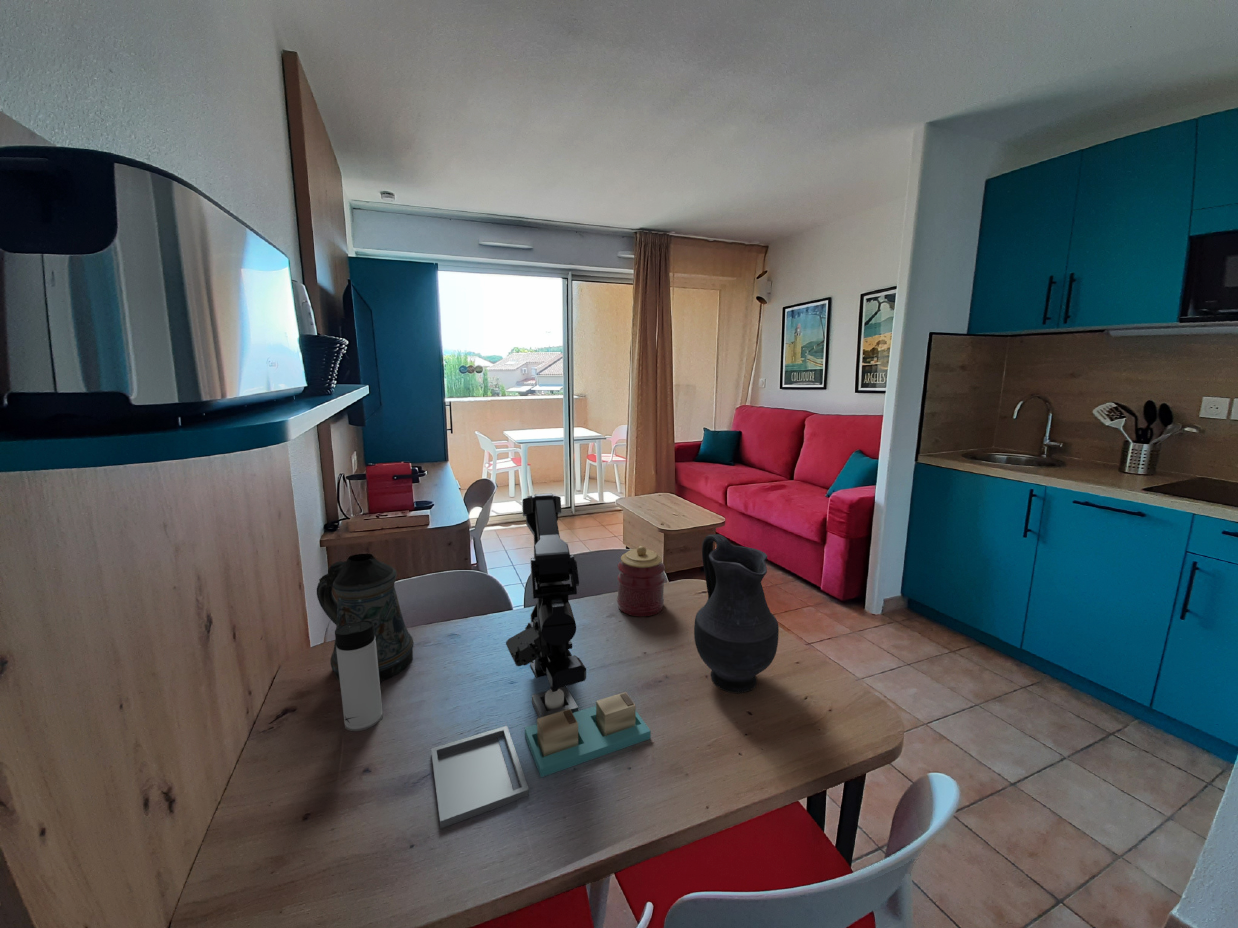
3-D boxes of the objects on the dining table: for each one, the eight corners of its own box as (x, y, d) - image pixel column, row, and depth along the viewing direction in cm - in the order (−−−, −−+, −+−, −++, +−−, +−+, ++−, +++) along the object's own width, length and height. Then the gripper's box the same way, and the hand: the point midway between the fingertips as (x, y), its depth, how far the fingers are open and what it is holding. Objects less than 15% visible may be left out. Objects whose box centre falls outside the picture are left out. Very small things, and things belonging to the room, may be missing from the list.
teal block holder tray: (524, 739, 87) (524, 727, 87) (625, 707, 95) (625, 696, 95) (541, 782, 78) (540, 768, 78) (650, 743, 87) (650, 730, 86)
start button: (542, 702, 94) (542, 691, 94) (560, 697, 96) (560, 686, 96) (548, 714, 91) (548, 702, 91) (566, 708, 93) (566, 697, 92)
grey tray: (431, 758, 83) (431, 748, 82) (507, 735, 88) (507, 725, 88) (441, 832, 70) (440, 821, 69) (529, 800, 75) (528, 789, 75)
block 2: (596, 724, 89) (596, 700, 88) (625, 715, 92) (625, 691, 91) (604, 739, 86) (605, 714, 85) (635, 729, 88) (635, 704, 87)
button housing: (532, 706, 96) (531, 694, 95) (565, 696, 99) (565, 685, 98) (542, 730, 89) (542, 718, 89) (578, 718, 92) (578, 707, 92)
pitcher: (723, 715, 94) (731, 569, 88) (668, 657, 112) (673, 533, 106) (792, 692, 101) (805, 555, 95) (730, 641, 119) (738, 523, 113)
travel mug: (344, 740, 86) (332, 637, 82) (345, 717, 92) (334, 619, 88) (383, 728, 89) (374, 629, 85) (382, 706, 95) (373, 612, 91)
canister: (613, 615, 131) (613, 553, 127) (621, 593, 143) (621, 536, 140) (661, 619, 129) (663, 557, 125) (665, 597, 141) (667, 539, 138)
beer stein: (408, 680, 103) (399, 569, 98) (304, 695, 98) (289, 579, 93) (419, 638, 119) (411, 541, 114) (329, 649, 114) (318, 548, 109)
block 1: (537, 743, 85) (537, 717, 84) (570, 733, 87) (570, 707, 86) (544, 760, 81) (543, 733, 80) (578, 748, 84) (578, 722, 83)
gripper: (498, 601, 95) (501, 673, 98) (522, 652, 78) (525, 736, 81) (553, 591, 100) (554, 659, 103) (587, 636, 83) (587, 716, 86)
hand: (554, 690), depth 93 cm, fingers closed
